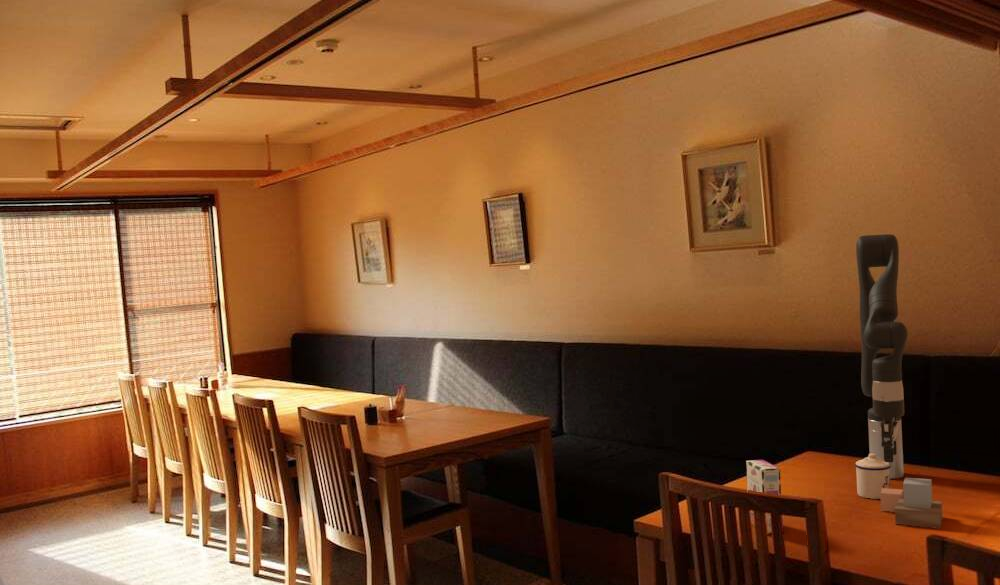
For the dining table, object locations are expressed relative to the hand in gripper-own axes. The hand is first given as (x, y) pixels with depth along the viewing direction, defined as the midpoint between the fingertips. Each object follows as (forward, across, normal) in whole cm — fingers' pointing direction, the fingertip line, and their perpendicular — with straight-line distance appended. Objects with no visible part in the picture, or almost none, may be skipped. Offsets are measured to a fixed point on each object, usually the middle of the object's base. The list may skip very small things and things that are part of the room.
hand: (890, 458), depth 229 cm
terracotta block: (+14, 0, 0) cm, 14 cm away
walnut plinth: (+14, +8, +7) cm, 17 cm away
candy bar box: (+14, +26, -27) cm, 40 cm away
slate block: (+10, +8, +7) cm, 14 cm away
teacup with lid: (+14, -14, -6) cm, 21 cm away
